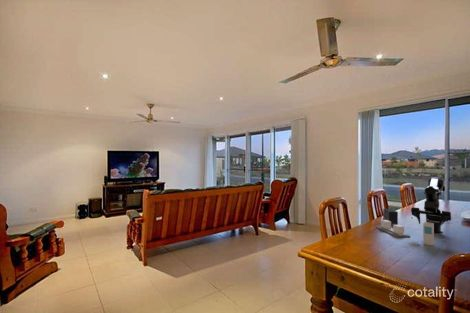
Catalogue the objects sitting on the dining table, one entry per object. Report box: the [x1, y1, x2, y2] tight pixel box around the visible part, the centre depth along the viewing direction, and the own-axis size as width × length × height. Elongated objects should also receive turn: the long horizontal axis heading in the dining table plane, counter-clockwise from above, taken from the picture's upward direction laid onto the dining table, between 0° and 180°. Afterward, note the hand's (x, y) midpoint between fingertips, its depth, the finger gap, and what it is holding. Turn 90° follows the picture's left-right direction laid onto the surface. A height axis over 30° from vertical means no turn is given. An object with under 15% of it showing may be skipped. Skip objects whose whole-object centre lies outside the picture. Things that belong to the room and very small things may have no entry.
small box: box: [382, 208, 399, 226], centre depth 179 cm, size 11×6×10 cm, turn 168°
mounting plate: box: [375, 219, 411, 239], centre depth 158 cm, size 9×20×6 cm, turn 2°
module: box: [422, 221, 435, 247], centre depth 137 cm, size 4×4×12 cm
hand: (429, 225), depth 139 cm, fingers open, 9 cm apart
